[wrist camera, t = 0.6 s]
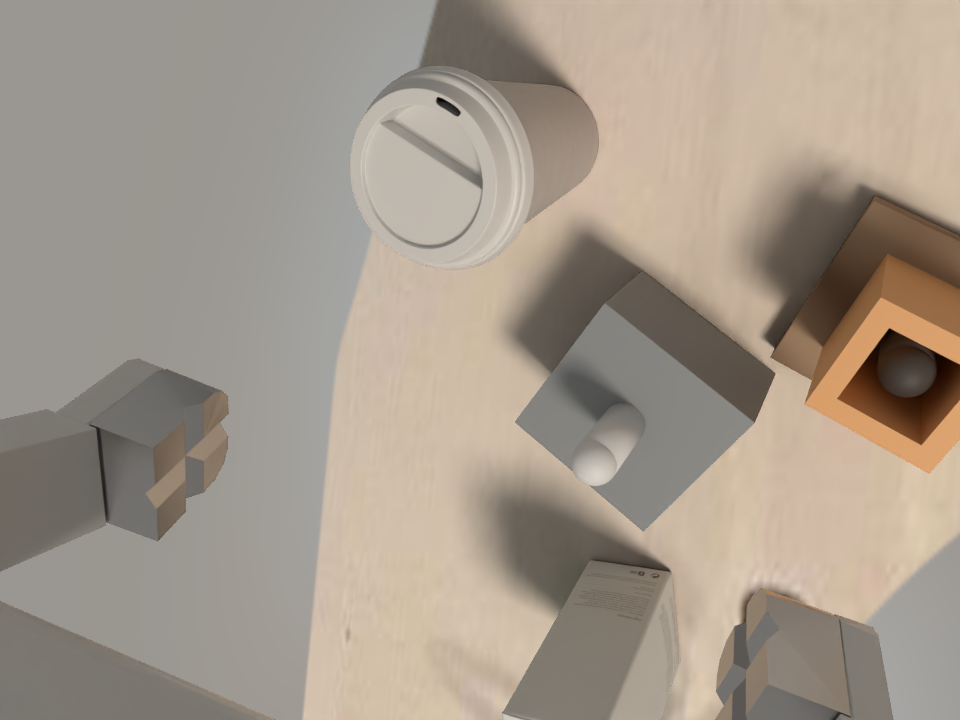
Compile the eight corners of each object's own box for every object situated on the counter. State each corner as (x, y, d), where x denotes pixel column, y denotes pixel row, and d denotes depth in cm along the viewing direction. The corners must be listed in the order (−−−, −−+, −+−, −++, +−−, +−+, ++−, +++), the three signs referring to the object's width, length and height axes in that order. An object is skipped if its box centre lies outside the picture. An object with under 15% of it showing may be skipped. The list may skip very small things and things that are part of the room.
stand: (874, 195, 40) (864, 230, 33) (1070, 288, 38) (1104, 347, 31) (774, 348, 46) (747, 407, 38) (940, 439, 43) (943, 519, 36)
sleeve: (887, 253, 40) (880, 297, 33) (1004, 311, 38) (1021, 368, 32) (822, 347, 43) (804, 404, 36) (928, 403, 41) (929, 473, 35)
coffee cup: (656, 154, 45) (556, 200, 33) (540, 247, 50) (417, 317, 38) (558, 20, 45) (421, 17, 33) (453, 128, 50) (302, 160, 38)
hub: (642, 270, 48) (561, 340, 37) (775, 374, 46) (730, 478, 35) (558, 380, 53) (466, 468, 42) (674, 476, 52) (608, 593, 41)
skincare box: (589, 555, 57) (495, 705, 45) (679, 569, 54) (604, 735, 41) (601, 649, 60) (515, 815, 47) (687, 667, 57) (619, 851, 44)
